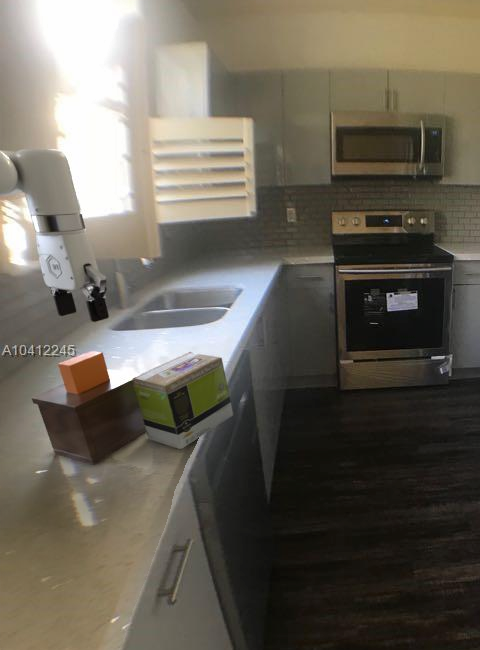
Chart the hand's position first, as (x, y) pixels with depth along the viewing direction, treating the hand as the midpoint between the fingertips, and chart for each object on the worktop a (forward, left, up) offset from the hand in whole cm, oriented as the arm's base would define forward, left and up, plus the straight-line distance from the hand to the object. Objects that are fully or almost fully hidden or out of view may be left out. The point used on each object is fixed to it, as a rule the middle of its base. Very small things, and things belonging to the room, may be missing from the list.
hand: (83, 316), depth 88 cm
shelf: (-1, -2, -27) cm, 27 cm away
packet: (-1, -2, -14) cm, 14 cm away
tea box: (+13, +8, -27) cm, 31 cm away
